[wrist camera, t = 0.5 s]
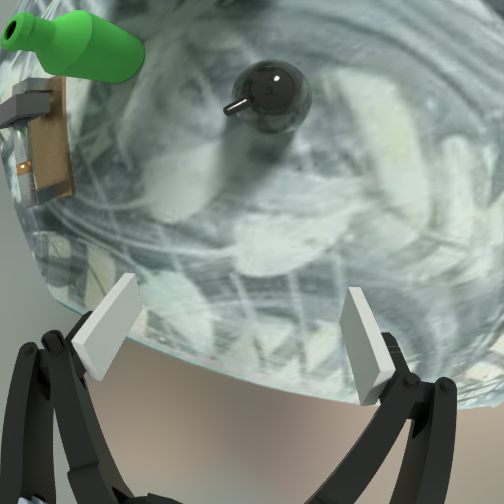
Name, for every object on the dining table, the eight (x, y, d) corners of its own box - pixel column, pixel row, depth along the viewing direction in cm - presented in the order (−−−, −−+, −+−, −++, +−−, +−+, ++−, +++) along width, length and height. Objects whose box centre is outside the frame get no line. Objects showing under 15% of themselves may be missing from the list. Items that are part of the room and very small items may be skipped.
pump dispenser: (221, 91, 35) (195, 70, 21) (284, 59, 32) (292, 22, 18) (256, 148, 38) (249, 158, 24) (319, 116, 36) (347, 110, 22)
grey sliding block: (22, 107, 31) (-9, 111, 24) (49, 93, 31) (16, 93, 23) (23, 125, 33) (-9, 130, 25) (49, 111, 32) (16, 115, 25)
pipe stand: (32, 89, 33) (-1, 90, 24) (65, 72, 32) (31, 68, 24) (43, 199, 43) (12, 215, 35) (75, 193, 42) (42, 209, 34)
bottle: (152, 69, 33) (40, 32, 11) (107, 92, 35) (-13, 89, 12) (140, 28, 30) (40, -24, 7) (98, 52, 31) (-12, 30, 9)
